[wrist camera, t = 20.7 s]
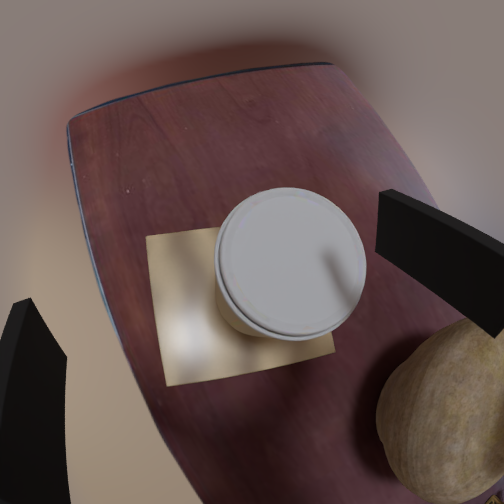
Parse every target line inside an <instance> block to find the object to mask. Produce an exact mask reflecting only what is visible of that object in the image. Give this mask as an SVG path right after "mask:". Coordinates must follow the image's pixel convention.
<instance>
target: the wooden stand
mask: <svg viewBox="0 0 504 504" xmlns="http://www.w3.org/2000/svg"><path fill="white" fill-rule="evenodd" d="M220 228H221V227H215V228H206V229H198V230H190V231H182V232H175V233H167V234H159V235H152V236H146V246H147V257H148V267H149V276H150V285H151V293H152V301H153V308H154V315H155V322H156V329H157V335H158V341H159V347H160V353H161V359H162V364H163V370H164V375H165V380H166V385H167V386H176V385H183V384H190V383H197V382H203V381H209V380H215V379H221V378H227V377H232V376H237V375H243V374H248V373H252V372H257V371H262V370H267V369H271V368H276V367H280V366H284V365H288V364H293V363H297V362H301V361H305V360H308V359H312V358H316V357H320V356H324V355H327V354H331V353H334V352H335V347H334V342H333V338H332V333H331V332H329V333H327V334H325V335H323V336H320V337H317V338H314V339H310V340H304V341H286V340H279V339H275V338H267V337H257V336H251V335H247V334H244V333H242V332H239V331H238V330H236V329H234V328H233V327H232V326H230V325H229V324H228V323H227V321H226V320H225V319H224V318H223V316H222V315H221V313H220V311H219V308H218V305H217V301H216V295H215V268H214V249H215V243H216V239H217V236H218V233H219V230H220Z"/></svg>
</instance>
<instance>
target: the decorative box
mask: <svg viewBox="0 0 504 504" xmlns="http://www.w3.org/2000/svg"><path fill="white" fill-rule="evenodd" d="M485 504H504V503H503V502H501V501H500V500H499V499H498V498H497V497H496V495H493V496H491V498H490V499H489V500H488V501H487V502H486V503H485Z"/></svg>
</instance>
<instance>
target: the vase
mask: <svg viewBox="0 0 504 504" xmlns="http://www.w3.org/2000/svg"><path fill="white" fill-rule="evenodd" d="M376 426H377V432H378V435H379V438H380V440H381V442H382V443H383V445H384V450H385V453H386V456H387V459H388V462H389V465H390V467H391V469H392V471H393V472H394V473H395V475H396V476H397V478H398V479H399V481H400V482H401V483H402V484H403V485H404V486H405V487H406V488H407V489H409V490H410V491H411V492H413V493H414V494H416V495H417V496H419V497H420V498H421V499H423V500H425V501H427V502H430V503H435V504H459V503H463V502H465V501H468V500H470V499H472V498H475V497H477V496H478V495H480V494H482V493H483V492H484V491H486V490H487V489H489V488H490V487H491V486H492V485H494V484H495V483H496V482H497V481H498V480H499V479H500V478H501V477H502V476H503V475H504V329H503V330H502V331H501V332H500V334H499V335H498V336H497V337H496V338H495V339H494V338H492V337H491V336H490V335H489V334H487V333H486V332H485V331H484V330H482V329H481V328H480V327H479V326H477V325H476V324H475V323H474V322H472V321H471V320H470V319H468V318H464V319H462V320H459V321H457V322H455V323H453V324H451V325H449V326H447V327H444V328H442V329H441V330H439V331H437V332H436V333H435V334H433V335H432V336H431V337H430V338H428V339H427V340H426V341H424V342H423V343H422V344H421V345H420V346H419V347H418V348H417V349H416V350H415V351H414V352H413V354H412V355H411V356H410V357H409V358H408V359H407V360H406V361H404V362H403V363H402V364H400V365H399V366H398V367H397V368H396V369H395V370H394V371H393V372H392V374H391V375H390V377H389V378H388V380H387V381H386V383H385V385H384V387H383V389H382V391H381V394H380V397H379V400H378V404H377V409H376Z"/></svg>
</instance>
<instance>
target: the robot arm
mask: <svg viewBox="0 0 504 504" xmlns="http://www.w3.org/2000/svg"><path fill="white" fill-rule="evenodd" d="M375 252H376V253H378V254H379V255H381V256H382V257H384V258H385V259H387V260H388V261H390V262H391V263H392V264H394V265H395V266H397V267H398V268H400V269H401V270H403V271H404V272H406V273H407V274H408V275H410V276H411V277H413V278H414V279H416V280H417V281H418V282H420V283H421V284H423V285H424V286H425V287H427V288H428V289H429V290H431V291H432V292H434V293H435V294H436V295H438V296H439V297H440V298H442V299H443V300H445V301H446V302H447V303H449V304H450V305H451V306H453V307H454V308H455V309H457V310H458V311H459V312H461V313H462V314H463V315H464V316H466V317H467V318H468V319H470V320H471V321H472V322H474V323H475V324H476V325H477V326H479V327H480V328H481V329H482V330H484V331H485V332H486V333H487V334H489V335H490V336H491V337H492V338H494V339H495V338H496V337H497V336H498V335H499V334H500V332H501V331H502V330H503V329H504V244H503V243H501V242H499V241H498V240H496V239H494V238H492V237H490V236H489V235H487V234H485V233H483V232H481V231H479V230H478V229H475V228H474V227H472V226H470V225H468V224H466V223H464V222H462V221H460V220H458V219H456V218H454V217H452V216H450V215H448V214H446V213H444V212H442V211H440V210H438V209H436V208H434V207H431V206H429V205H427V204H425V203H423V202H421V201H418V200H416V199H414V198H412V197H409V196H407V195H405V194H403V193H400V192H398V191H396V190H393V189H389V190H386V191H382V192H379V205H378V222H377V236H376V248H375ZM66 366H67V356H66V355H65V353H64V352H63V350H62V349H61V347H60V346H59V344H58V343H57V341H56V340H55V338H54V336H53V335H52V333H51V332H50V330H49V328H48V327H47V325H46V323H45V322H44V320H43V319H42V317H41V315H40V313H39V312H38V310H37V308H36V306H35V304H34V303H33V301H32V299H31V298H28V299H25V300H22V301H19V302H16V303H14V304H13V306H12V309H11V311H10V314H9V316H8V319H7V322H6V325H5V328H4V330H3V333H2V337H1V340H0V504H71V501H70V493H69V485H68V475H67V465H66V464H67V463H66V447H65V384H66V383H65V382H66Z"/></svg>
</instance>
